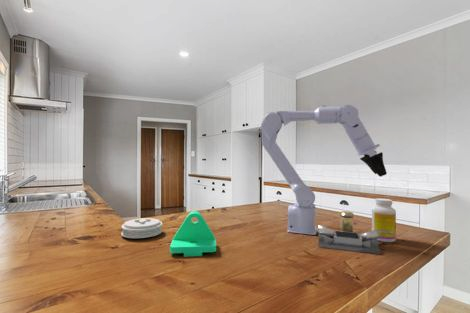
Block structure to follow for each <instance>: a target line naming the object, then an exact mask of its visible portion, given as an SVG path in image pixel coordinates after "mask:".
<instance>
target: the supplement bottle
mask: <svg viewBox="0 0 470 313" xmlns="http://www.w3.org/2000/svg"><path fill="white" fill-rule="evenodd" d="M374 200H375V205H374V206H373V207H372V208H371V231H373V230H377V231H378V233H379V235H380V238H379V239H377V240H378V242H382V243H383V242H384V243H393V242H396V239H397V238H396V237H397V219H396V218H397V211H396V209H395V208H393V207H392V205H393V200H392V199H389V198H375V199H374Z"/></svg>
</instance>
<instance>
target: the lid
mask: <svg viewBox="0 0 470 313" xmlns="http://www.w3.org/2000/svg"><path fill="white" fill-rule="evenodd" d="M162 225H163V222H162V221H161V220H160V219H159V218H158V219H157V218H151V217H145V218H143V217H142V218H133V219H130V220H127V221H125V222H124V223H123V224H122V225H120V226H121V229H122V231H121V234H120V235H121V236H122V237H124V238H128V239H145V238H151V237H152V238H153V237H155V236H158V235H160V234H162V232H163V229H162Z"/></svg>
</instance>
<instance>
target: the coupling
mask: <svg viewBox="0 0 470 313" xmlns="http://www.w3.org/2000/svg"><path fill="white" fill-rule="evenodd" d="M354 216H355V215H354V212H352V211H344V210H342V211H340V231H345V232H354V218H355V217H354Z"/></svg>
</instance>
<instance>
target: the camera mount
mask: <svg viewBox="0 0 470 313" xmlns="http://www.w3.org/2000/svg"><path fill="white" fill-rule="evenodd" d="M193 218H196V219H197V221H192V219H193ZM182 222H183V223H182V224H181V225H180V227H179V229H178V230H177V232H176V233H175V234H174V236H173V238H172V241H171V243H170V245H169V253H171V254H183V257H202V256H203V253H214V252H217V241H216V239H217V238H216V235H214V232H213V231H212V229H211V228H210V225H208V222H206V220H205V218H204V217H203V216H202V214H201V212H200V211H197V210H193V211H190V212H189V213H188V214H187V216H186V217H185V219H184V221H182Z"/></svg>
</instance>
